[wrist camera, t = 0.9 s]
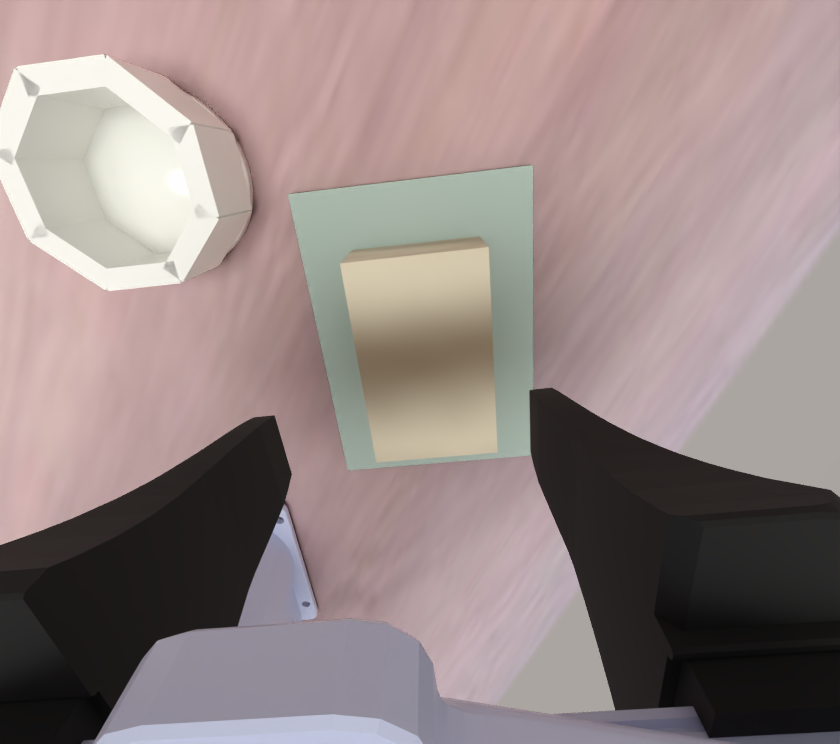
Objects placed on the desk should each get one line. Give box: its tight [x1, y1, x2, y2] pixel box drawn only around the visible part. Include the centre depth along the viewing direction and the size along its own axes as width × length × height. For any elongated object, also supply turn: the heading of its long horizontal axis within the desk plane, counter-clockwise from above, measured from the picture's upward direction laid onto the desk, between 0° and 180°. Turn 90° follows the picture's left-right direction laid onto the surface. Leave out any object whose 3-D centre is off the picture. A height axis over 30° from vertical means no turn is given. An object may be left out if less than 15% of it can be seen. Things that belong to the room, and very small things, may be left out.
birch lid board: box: [340, 236, 498, 463], centre depth 19 cm, size 9×6×3 cm, turn 6°
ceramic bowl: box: [0, 54, 253, 291], centre depth 17 cm, size 7×7×4 cm
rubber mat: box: [288, 165, 533, 470], centre depth 21 cm, size 14×10×1 cm
